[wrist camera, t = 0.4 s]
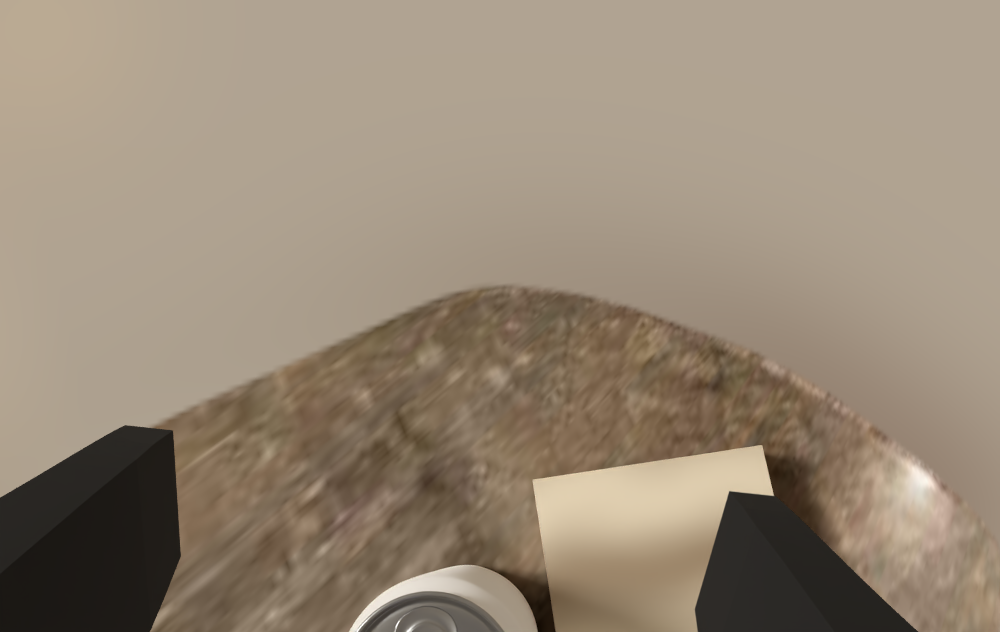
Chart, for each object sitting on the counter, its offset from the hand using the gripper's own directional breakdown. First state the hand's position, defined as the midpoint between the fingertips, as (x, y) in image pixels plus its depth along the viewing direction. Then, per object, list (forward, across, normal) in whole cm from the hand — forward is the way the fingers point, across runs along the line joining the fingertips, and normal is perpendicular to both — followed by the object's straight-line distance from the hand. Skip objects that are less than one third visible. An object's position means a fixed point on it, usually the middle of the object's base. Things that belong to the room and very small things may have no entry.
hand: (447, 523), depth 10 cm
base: (+19, -10, +18) cm, 28 cm away
